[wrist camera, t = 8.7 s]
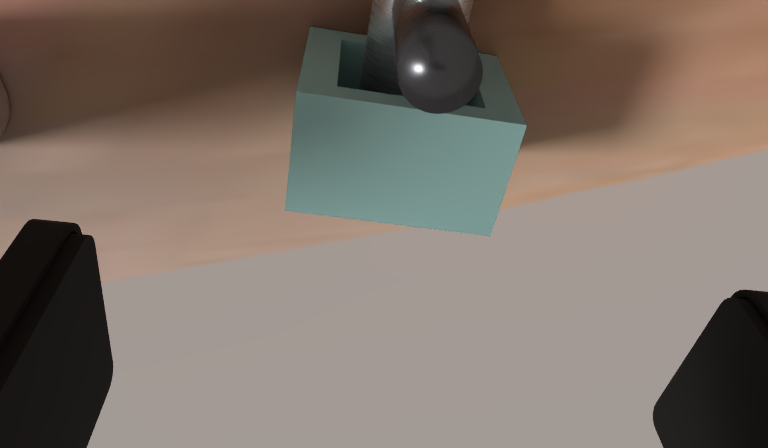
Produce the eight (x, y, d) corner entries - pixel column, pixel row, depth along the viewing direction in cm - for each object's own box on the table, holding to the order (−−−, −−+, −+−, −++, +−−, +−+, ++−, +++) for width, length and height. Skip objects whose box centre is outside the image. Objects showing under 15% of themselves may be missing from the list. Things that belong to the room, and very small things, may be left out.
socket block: (310, 26, 30) (296, 91, 24) (496, 55, 31) (527, 125, 25) (299, 130, 33) (284, 210, 27) (469, 154, 34) (490, 236, 28)
